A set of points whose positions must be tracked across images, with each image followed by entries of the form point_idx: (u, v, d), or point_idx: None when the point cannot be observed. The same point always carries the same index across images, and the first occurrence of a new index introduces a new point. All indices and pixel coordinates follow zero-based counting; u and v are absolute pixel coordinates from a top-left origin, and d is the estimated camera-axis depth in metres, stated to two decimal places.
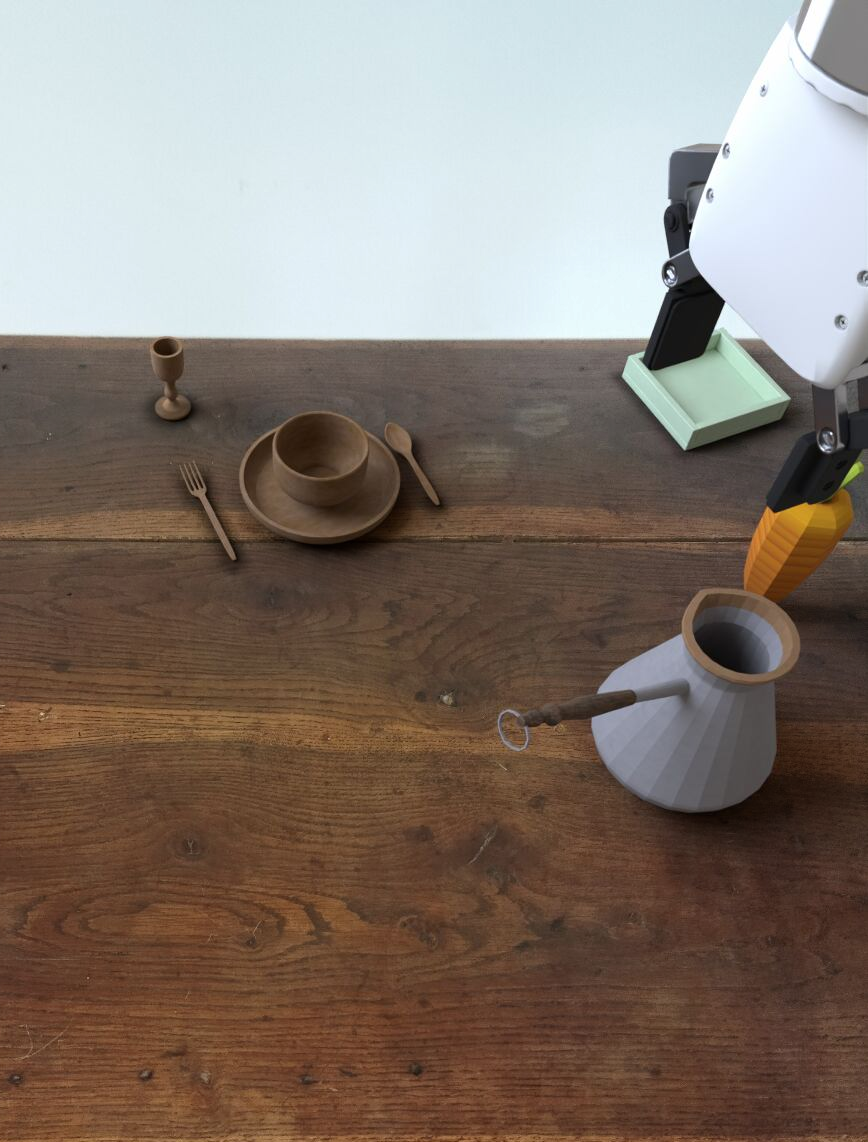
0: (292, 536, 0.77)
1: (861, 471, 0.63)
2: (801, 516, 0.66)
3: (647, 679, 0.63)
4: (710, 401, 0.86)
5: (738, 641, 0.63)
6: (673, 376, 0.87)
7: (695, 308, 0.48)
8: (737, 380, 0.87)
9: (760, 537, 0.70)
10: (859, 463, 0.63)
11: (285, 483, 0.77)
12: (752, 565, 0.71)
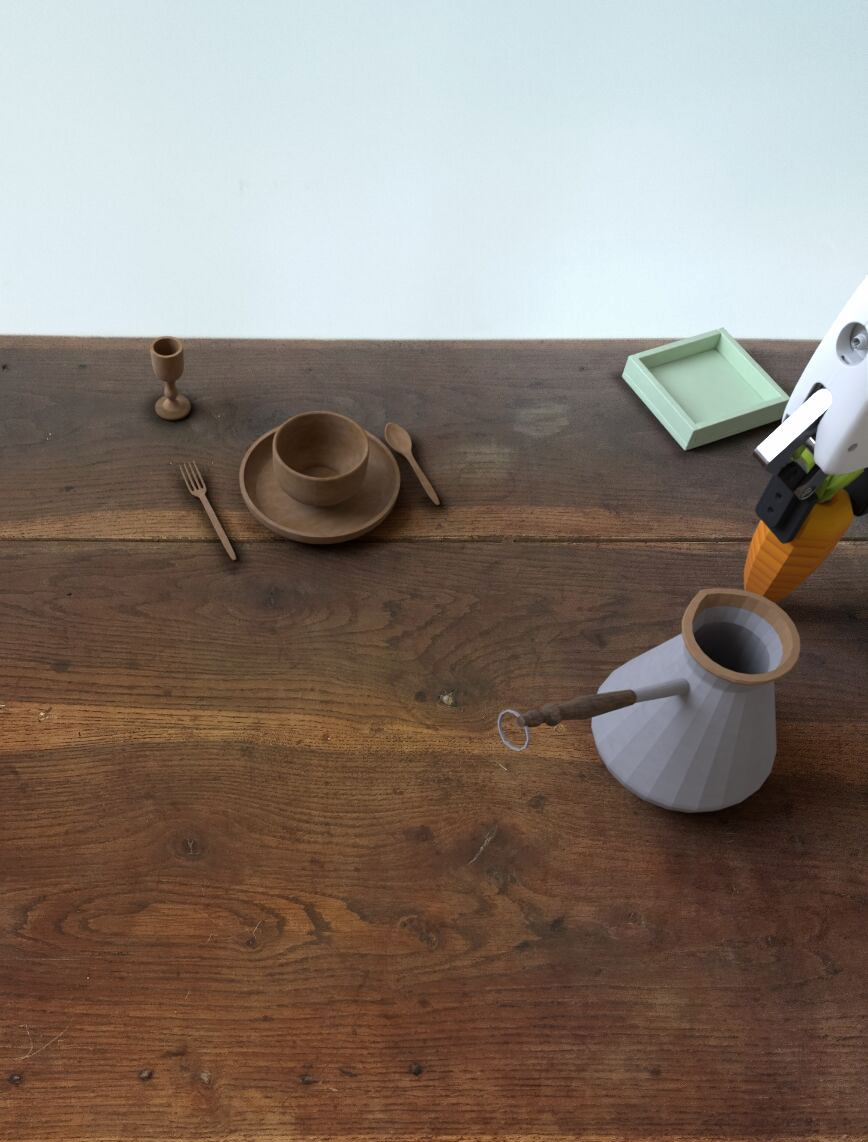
0: (292, 536, 0.77)
1: (861, 471, 0.63)
2: None
3: (647, 679, 0.63)
4: (710, 401, 0.86)
5: (738, 641, 0.63)
6: (673, 376, 0.87)
7: None
8: (737, 380, 0.87)
9: (760, 537, 0.70)
10: None
11: (285, 483, 0.77)
12: (752, 565, 0.71)
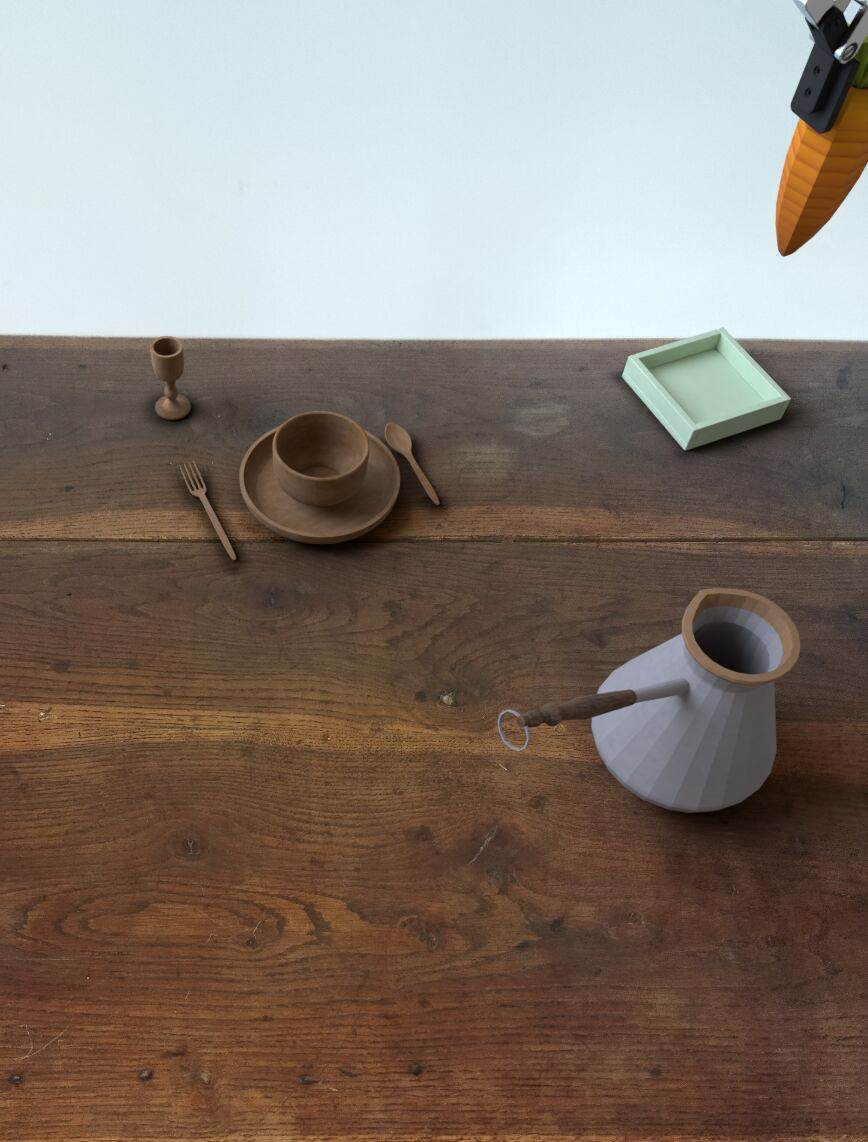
0: (292, 536, 0.77)
1: None
2: None
3: (647, 679, 0.63)
4: (710, 401, 0.86)
5: (738, 641, 0.63)
6: (673, 376, 0.87)
7: None
8: (737, 380, 0.87)
9: (794, 148, 0.66)
10: None
11: (285, 483, 0.77)
12: (786, 186, 0.68)
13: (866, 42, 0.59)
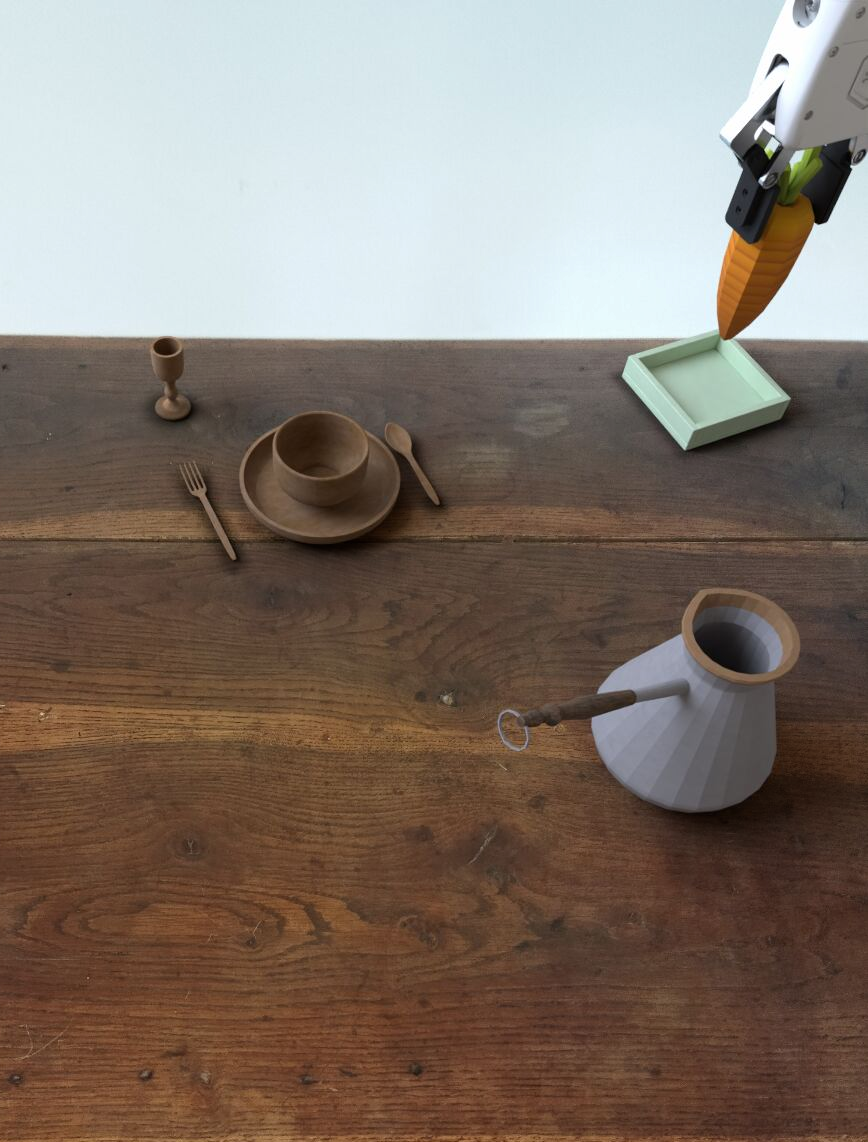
0: (292, 536, 0.77)
1: (819, 165, 0.69)
2: None
3: (647, 679, 0.63)
4: (710, 401, 0.86)
5: (738, 641, 0.63)
6: (673, 376, 0.87)
7: None
8: (737, 380, 0.87)
9: (730, 252, 0.76)
10: (818, 158, 0.69)
11: (285, 483, 0.77)
12: (723, 283, 0.77)
13: (786, 170, 0.69)
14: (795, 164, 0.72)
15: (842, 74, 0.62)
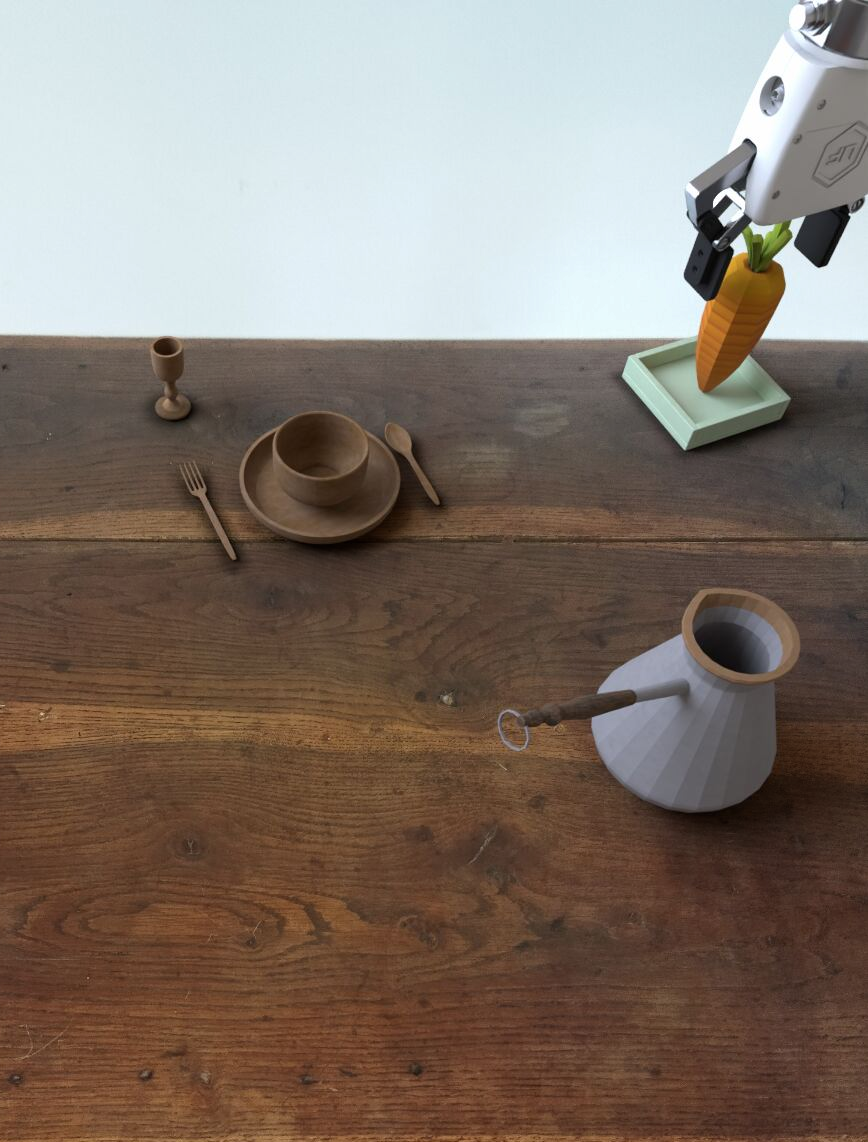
0: (292, 536, 0.77)
1: (789, 237, 0.74)
2: (740, 284, 0.76)
3: (647, 679, 0.63)
4: (710, 401, 0.86)
5: (738, 641, 0.63)
6: (673, 376, 0.87)
7: (821, 214, 0.75)
8: (737, 380, 0.87)
9: (707, 313, 0.80)
10: (788, 230, 0.74)
11: (285, 483, 0.77)
12: (701, 341, 0.81)
13: (758, 242, 0.73)
14: (767, 233, 0.76)
15: (806, 158, 0.66)
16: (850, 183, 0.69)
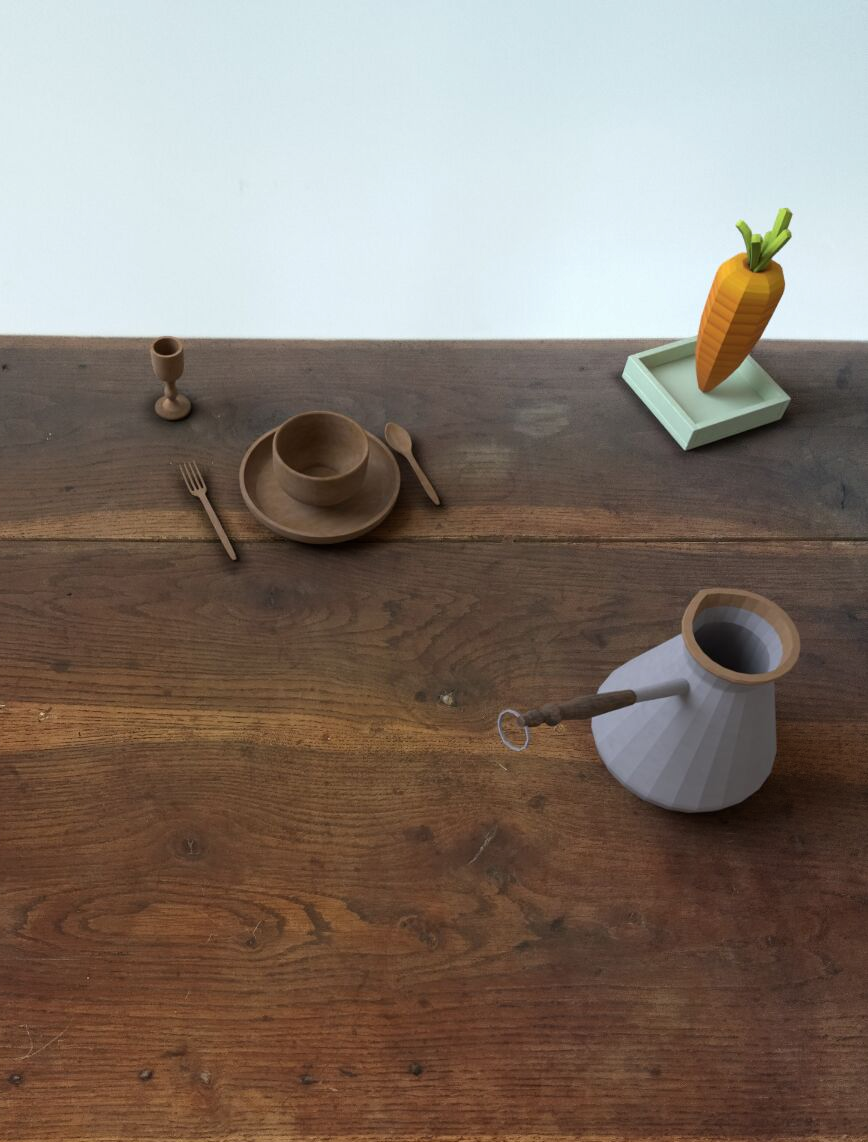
0: (292, 536, 0.77)
1: (789, 236, 0.74)
2: (739, 283, 0.76)
3: (647, 679, 0.63)
4: (710, 401, 0.86)
5: (738, 641, 0.63)
6: (673, 376, 0.87)
7: None
8: (737, 380, 0.87)
9: (706, 313, 0.80)
10: (787, 230, 0.74)
11: (285, 483, 0.77)
12: (701, 341, 0.81)
13: (757, 242, 0.73)
14: (766, 233, 0.76)
15: None
16: None
